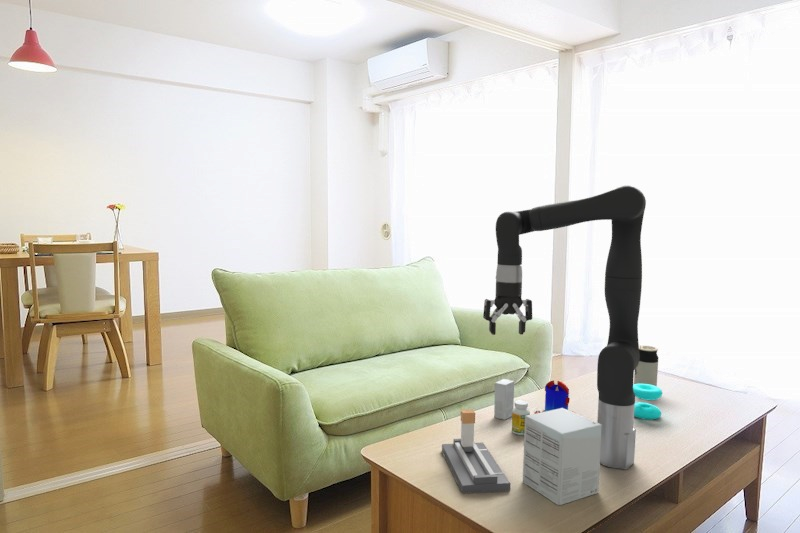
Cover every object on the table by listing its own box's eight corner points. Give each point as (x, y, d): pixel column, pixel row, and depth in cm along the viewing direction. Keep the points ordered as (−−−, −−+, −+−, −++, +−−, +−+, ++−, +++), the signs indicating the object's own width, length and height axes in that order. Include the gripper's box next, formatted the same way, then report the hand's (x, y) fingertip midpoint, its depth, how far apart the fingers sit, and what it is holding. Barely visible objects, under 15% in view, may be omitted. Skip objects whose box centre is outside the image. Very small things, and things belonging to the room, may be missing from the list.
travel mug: (657, 392, 210) (660, 347, 208) (654, 398, 203) (657, 351, 202) (635, 389, 214) (637, 344, 212) (631, 394, 207) (634, 348, 206)
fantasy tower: (531, 414, 186) (532, 379, 184) (550, 406, 193) (552, 373, 192) (561, 424, 177) (563, 388, 176) (581, 415, 185) (582, 381, 183)
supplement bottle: (520, 427, 173) (521, 398, 172) (532, 433, 169) (533, 403, 168) (507, 431, 170) (508, 401, 169) (520, 437, 166) (521, 406, 165)
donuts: (635, 390, 180) (626, 381, 190) (634, 420, 181) (624, 409, 191) (667, 392, 179) (656, 383, 189) (665, 421, 180) (654, 410, 190)
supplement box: (560, 470, 144) (562, 406, 142) (599, 493, 133) (603, 424, 131) (521, 481, 138) (523, 414, 136) (559, 506, 126) (562, 433, 125)
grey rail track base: (441, 450, 155) (442, 438, 155) (482, 449, 157) (483, 437, 156) (462, 493, 132) (462, 479, 131) (510, 490, 133) (510, 476, 133)
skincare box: (502, 412, 187) (503, 378, 185) (513, 415, 184) (514, 380, 183) (493, 417, 182) (494, 382, 181) (504, 420, 179) (506, 385, 178)
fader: (459, 447, 152) (460, 409, 151) (471, 447, 153) (472, 409, 152) (462, 452, 149) (463, 413, 148) (474, 451, 150) (475, 412, 149)
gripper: (489, 281, 155) (487, 337, 157) (537, 281, 157) (534, 336, 159) (481, 278, 163) (480, 331, 164) (527, 278, 165) (525, 331, 166)
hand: (507, 334), depth 161 cm, fingers open, 8 cm apart
